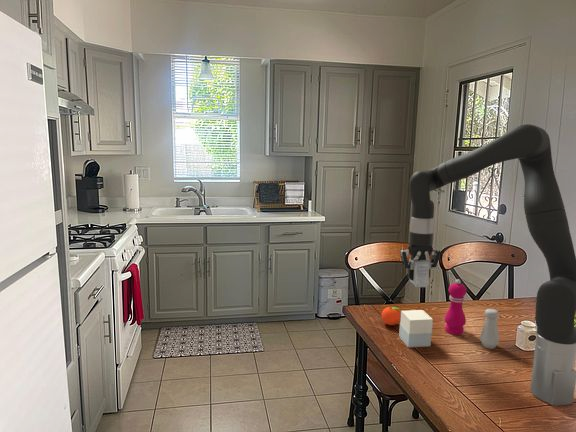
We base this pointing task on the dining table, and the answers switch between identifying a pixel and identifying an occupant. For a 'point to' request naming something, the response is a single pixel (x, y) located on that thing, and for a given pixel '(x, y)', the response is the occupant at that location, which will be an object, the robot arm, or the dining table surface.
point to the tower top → (416, 322)
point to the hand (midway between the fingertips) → (418, 279)
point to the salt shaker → (490, 329)
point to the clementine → (391, 315)
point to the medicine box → (421, 273)
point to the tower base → (414, 338)
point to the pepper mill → (456, 309)
